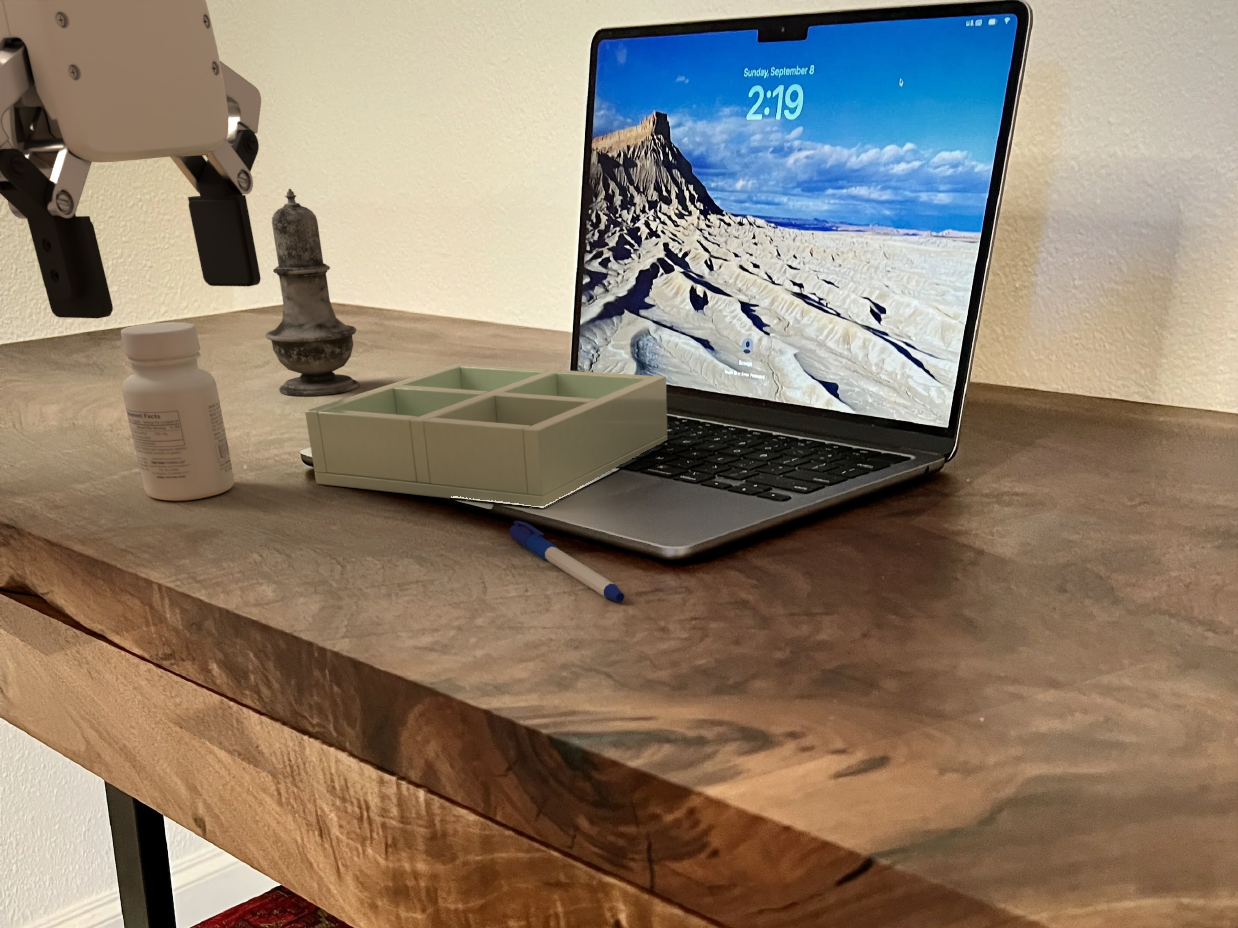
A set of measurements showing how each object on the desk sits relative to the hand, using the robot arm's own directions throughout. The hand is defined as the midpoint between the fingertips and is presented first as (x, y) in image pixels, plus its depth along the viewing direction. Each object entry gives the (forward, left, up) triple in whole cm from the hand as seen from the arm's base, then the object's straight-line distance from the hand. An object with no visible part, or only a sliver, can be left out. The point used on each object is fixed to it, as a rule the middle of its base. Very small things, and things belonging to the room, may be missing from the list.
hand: (162, 300), depth 63 cm
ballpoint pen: (+24, -4, -9) cm, 26 cm away
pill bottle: (0, 0, -9) cm, 9 cm away
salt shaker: (-11, +24, -9) cm, 28 cm away
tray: (+12, +10, -9) cm, 18 cm away
